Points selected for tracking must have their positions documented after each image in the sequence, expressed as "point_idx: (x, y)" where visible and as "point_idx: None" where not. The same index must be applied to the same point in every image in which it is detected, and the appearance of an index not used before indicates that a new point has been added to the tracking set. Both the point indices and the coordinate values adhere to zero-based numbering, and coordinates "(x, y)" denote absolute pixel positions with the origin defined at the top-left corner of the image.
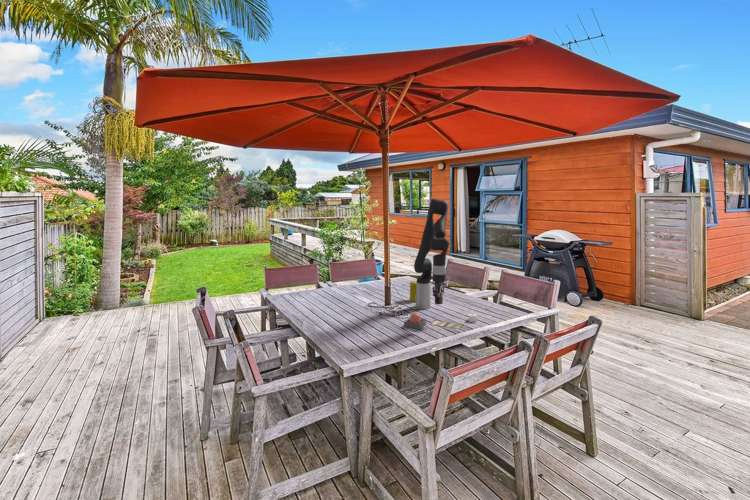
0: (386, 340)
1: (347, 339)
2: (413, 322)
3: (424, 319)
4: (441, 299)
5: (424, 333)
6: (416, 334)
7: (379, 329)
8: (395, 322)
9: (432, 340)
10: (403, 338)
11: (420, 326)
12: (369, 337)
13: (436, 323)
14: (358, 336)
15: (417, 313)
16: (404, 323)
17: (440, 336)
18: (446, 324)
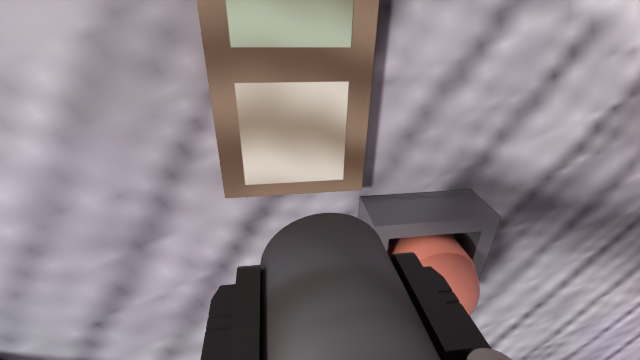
0: (632, 253)
1: (620, 352)
2: (474, 261)
3: (382, 236)
4: (378, 276)
5: (506, 146)
6: (532, 179)
7: (490, 338)
8: None
9: (636, 42)
10: (603, 207)
11: (473, 205)
12: (596, 316)
13: (309, 152)
14: (587, 346)
15: None
16: None
17: (551, 16)
18: (290, 66)
